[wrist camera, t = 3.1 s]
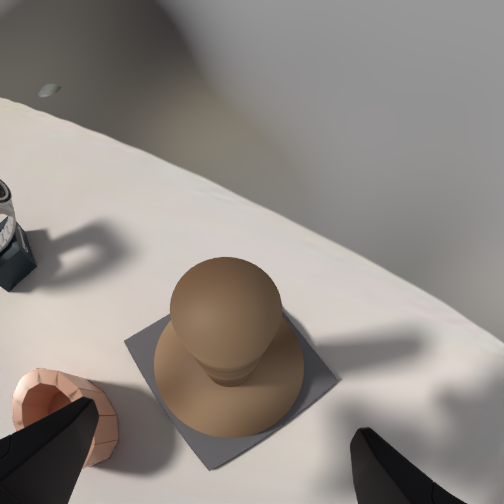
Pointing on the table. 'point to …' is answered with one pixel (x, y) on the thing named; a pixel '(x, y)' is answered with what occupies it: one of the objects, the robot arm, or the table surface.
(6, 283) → the watch
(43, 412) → the bowl
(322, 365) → the mat
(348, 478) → the table surface
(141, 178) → the table surface
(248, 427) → the lid
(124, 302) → the table surface
